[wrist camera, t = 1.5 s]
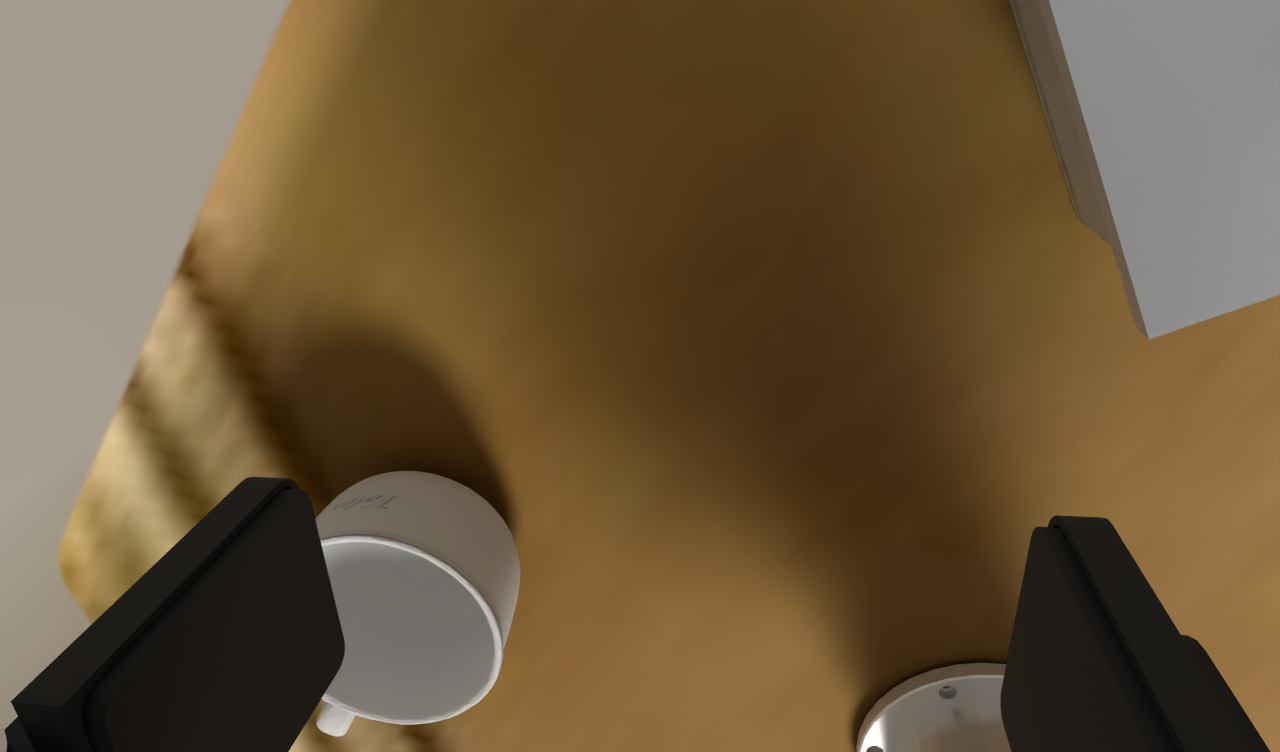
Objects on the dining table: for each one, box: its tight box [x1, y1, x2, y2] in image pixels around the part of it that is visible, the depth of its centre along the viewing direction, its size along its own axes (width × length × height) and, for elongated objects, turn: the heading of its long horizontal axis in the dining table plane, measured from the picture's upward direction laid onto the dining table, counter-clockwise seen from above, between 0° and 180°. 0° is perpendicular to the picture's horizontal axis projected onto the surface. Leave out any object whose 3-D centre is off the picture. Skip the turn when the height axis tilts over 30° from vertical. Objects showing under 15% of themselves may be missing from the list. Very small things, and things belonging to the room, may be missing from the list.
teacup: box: [315, 471, 520, 736], centre depth 41 cm, size 14×11×8 cm
